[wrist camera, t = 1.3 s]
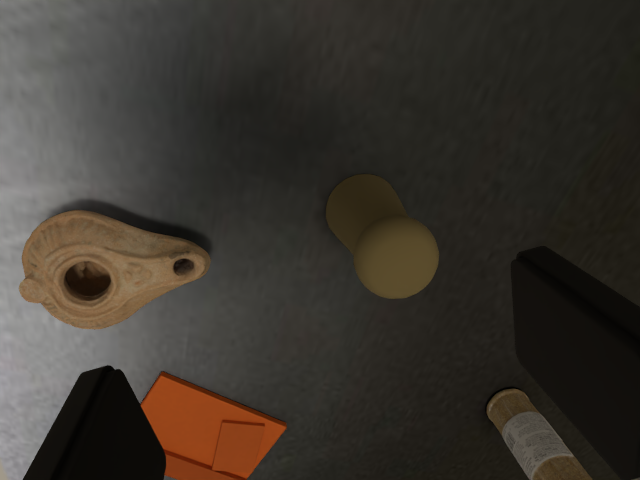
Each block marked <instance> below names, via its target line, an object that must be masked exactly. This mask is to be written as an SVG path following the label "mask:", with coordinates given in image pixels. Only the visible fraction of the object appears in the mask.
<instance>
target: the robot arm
mask: <svg viewBox="0 0 640 480" xmlns="http://www.w3.org/2000/svg"><path fill="white" fill-rule="evenodd" d="M511 279H512V296H513V313H514V330H515V347H516V354H517V357H518V359H519V361H520V363H521V365H522V366H523V367H524V368H525V370H526V371H527V372H528V373H529V374H530V375H531V376H532V378H533V379H534V380H535V381H536V382H537V383H538V384H539V386H540V387H541V388H542V389H543V390H544V391H545V392H546V394H547V395H548V396H549V397H550V398H551V399H552V401H553V402H554V403H555V404H556V405H557V406H558V407H559V409H560V410H561V411H562V412H563V413H564V414H565V415H566V417H567V418H568V419H569V420H570V421H571V422H572V423H573V425H574V426H575V427H576V428H577V429H578V430H579V432H580V433H581V434H582V435H583V436H584V437H585V438H586V440H587V441H588V442H589V443H590V444H591V445H592V446H593V448H594V449H595V450H596V451H597V452H598V453H599V455H600V456H601V457H602V458H603V459H604V460H605V461H606V463H607V464H608V465H609V466H610V467H611V468H612V469H613V471H614V472H615V473H616V474H617V475H618V476H619V477H620V479H621V480H640V307H639V306H637V305H636V304H634V303H633V302H631V301H629V300H628V299H626V298H625V297H623V296H622V295H620V294H619V293H617V292H616V291H614V290H612V289H611V288H609V287H608V286H606V285H605V284H603V283H602V282H600V281H599V280H597V279H595V278H594V277H592V276H591V275H589V274H588V273H586V272H585V271H583V270H582V269H580V268H578V267H577V266H575V265H574V264H572V263H571V262H569V261H568V260H566V259H565V258H563V257H561V256H560V255H558V254H557V253H555V252H554V251H552V250H551V249H549V248H548V247H545V246H540V247H536V248H532V249H529V250H525V251H521V252H519V253H518V254H517V257H516V259H515V260H513V261H512V262H511ZM165 470H166V455H165V452H164V449H163V447H162V445H161V444H160V442H159V440H158V438H157V436H156V434H155V432H154V430H153V428H152V426H151V424H150V423H149V421H148V419H147V417H146V415H145V413H144V411H143V409H142V407H141V405H140V404H139V402H138V400H137V398H136V396H135V394H134V392H133V390H132V388H131V386H130V384H129V383H128V381H127V379H126V377H125V375H124V373H123V372H122V371H121V370H120V369H117V370H115V369H114V368H113V367H112V366H108V365H107V366H104V367H100V368H97V369H93V370H89V371H86V372H83V373H82V374H81V375H80V376H79V378H78V380H77V381H76V383H75V385H74V387H73V389H72V391H71V392H70V394H69V396H68V398H67V400H66V401H65V403H64V405H63V407H62V409H61V411H60V412H59V414H58V416H57V418H56V420H55V422H54V423H53V425H52V427H51V429H50V431H49V433H48V434H47V436H46V438H45V440H44V442H43V444H42V445H41V447H40V449H39V451H38V453H37V455H36V456H35V458H34V460H33V462H32V464H31V465H30V467H29V469H28V471H27V473H26V475H25V476H24V478H23V480H163V479H164V475H165Z"/></svg>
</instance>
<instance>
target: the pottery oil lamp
mask: <svg viewBox="0 0 640 480" xmlns="http://www.w3.org/2000/svg"><path fill="white" fill-rule="evenodd" d="M210 261H211V260H210V256H209V254H208V253H207V252H206V251H205V250H204V249H202V248H201V247H199V246H198V245H197V244H195V243H193V242H191V241H189V240H185V239H182V238H179V237H172V236H168V235H163V234H158V233H153V232H149V231H145V230H142V229H139V228H136V227H133V226H131V225H128V224H126V223H123V222H120V221H118V220H115V219H113V218H110V217H107V216H105V215H102V214H99V213H95V212H91V211H85V210H72V211H68V212H64V213H61V214H58V215H55V216H53V217H51V218H50V219H47V220H46V221H44V222H42V223H41V224H40V225H39V226H38V227H37V228H36V229H35V230H34V231H33V232H32V234H31V236H30V238H29V239H28V240H27V242H26V244H25V247H24V250H23V254H22V263H23V268H24V273H25V277H26V278H25V279H24V280H23V281H22V282H21V283H20V286H19V291H20V294H21V295H22V297H23V298H24V299H25V300H26V301H28V302H33V303H41V304H42V305H43V306H44V307H45V309H46V310H47V311H48V312H49V313H50V314H51V315H52V316H54V317H55V318H57V319H59V320H61V321H63V322H65V323H67V324H70V325H72V326H74V327H78V328H82V329H102V328H106V327H109V326H112V325H114V324H117V323H119V322H122V321H123V320H125V319H127V318H128V317H130V316H131V315H132V314H134V313H135V312H136V311H137V310H139V309H140V308H141V307H143V306H144V305H145V304H147V303H148V302H150V301H152V300H153V299H155V298H157V297H159V296H161V295H162V294H164V293H166V292H168V291H170V290H172V289H174V288H176V287H179V286H181V285H183V284H186V283H188V282H191V281H194V280H196V279H199V278H200V277H202V276H203V275H204V274H205V273H206V272H207V271H208V269H209V266H210Z"/></svg>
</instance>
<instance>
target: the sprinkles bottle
mask: <svg viewBox="0 0 640 480" xmlns="http://www.w3.org/2000/svg"><path fill="white" fill-rule="evenodd" d="M487 415H488V417H489V419H490V420H491V421H492V422H493V423H494V424H495V426H496V428H497V429H498V430H499V432H500V433H501V435H502V437H503V439H504V441H505V443H506V444H507V446H508V447H509V449H510V450H511V452H512V453H513V455H514V456H515V458H516V459H517V461H518V463H519V464H520V466H521V467H522V469H523V470H524V472H525V473H526V475H527V476H528V478H529V479H530V480H592V478H591V477H590V476H589V475H588V473H587V472H586V471H585V470H584V468H583V467H582V466H581V464H580V463H579V462H578V461H577V459H576V458H575V457H574V456H573V454H572V453H571V452H570V451H569V449H568V448H567V447H566V445H565V444H564V443H563V441H562V439H561V438H560V437H559V436H558V434H557V433H556V432H555V431H554V430H553V428H552V427H551V426H550V425H549V423H548V422H547V421H546V420H545V418H544V417H543V416H542V415H541V414H540V413H539V412H538V411H537V410H536V409H535V407H534V406H533V405H532V403H531V402H530V401H529V399H528V397H527V395H526V394H525V393H524V392H522V391H520V390H518V389H506V390H503V391H500V392H498V393H497V394H496V395H494V396H493V397H492V398H491V400H490V401H489V403H488V405H487Z"/></svg>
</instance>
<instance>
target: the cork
mask: <svg viewBox="0 0 640 480" xmlns="http://www.w3.org/2000/svg"><path fill="white" fill-rule="evenodd" d="M326 219H327V222H328V225H329V228H330V229H331V231H332V232H333V233H334V234H335V235H336V237H337V238H338V239H339V240H340V241H341V242H342V243H343V244H344V245H345V246H346V247H347V249H348V250H349V251H350V252H351V253H352V254H353V255H354V267H355V269H356V272H357V275H358V277H359V279H360V281H361V282H362V283H363V284H364V285H365V287H366V288H367V289H369V290H370V291H372V292H373V293H375V294H377V295H378V296H380V297H385V298H390V299H396V298H406V297H409V296H411V295H414V294H416V293H418V292H419V291H421V290H422V289H423V288H425V287H426V286H427V284H428V283H429V282H430V281H431V280H432V278H433V276H434V274H435V271H436V269H437V267H438V260H439V252H438V248H437V244H436V241H435V238H434V237H433V235H432V234H431V232H430V231H429V230H428V228H427V227H425V226H424V225H423V224H421V223H420V222H418V221H417V220H415V219H413V218H409V217H408V215H407V213H406V211H405V209H404V207H403V205H402V204H401V202H400V200H399V198H398V196H397V194H396V192H395V191H394V189H393V188H392V186H391V185H390V184H389V183H388V182H387V181H385V180H384V179H382V178H381V177H379V176H375V175H371V174H357V175H355V176H352V177H349V178H346V179H345V180H344V181H342V182H341V183H340V184H338V185H337V186H336V187H335V189H334V190H333V192H332V193H331V194H330V196H329V199H328V202H327V205H326Z"/></svg>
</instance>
